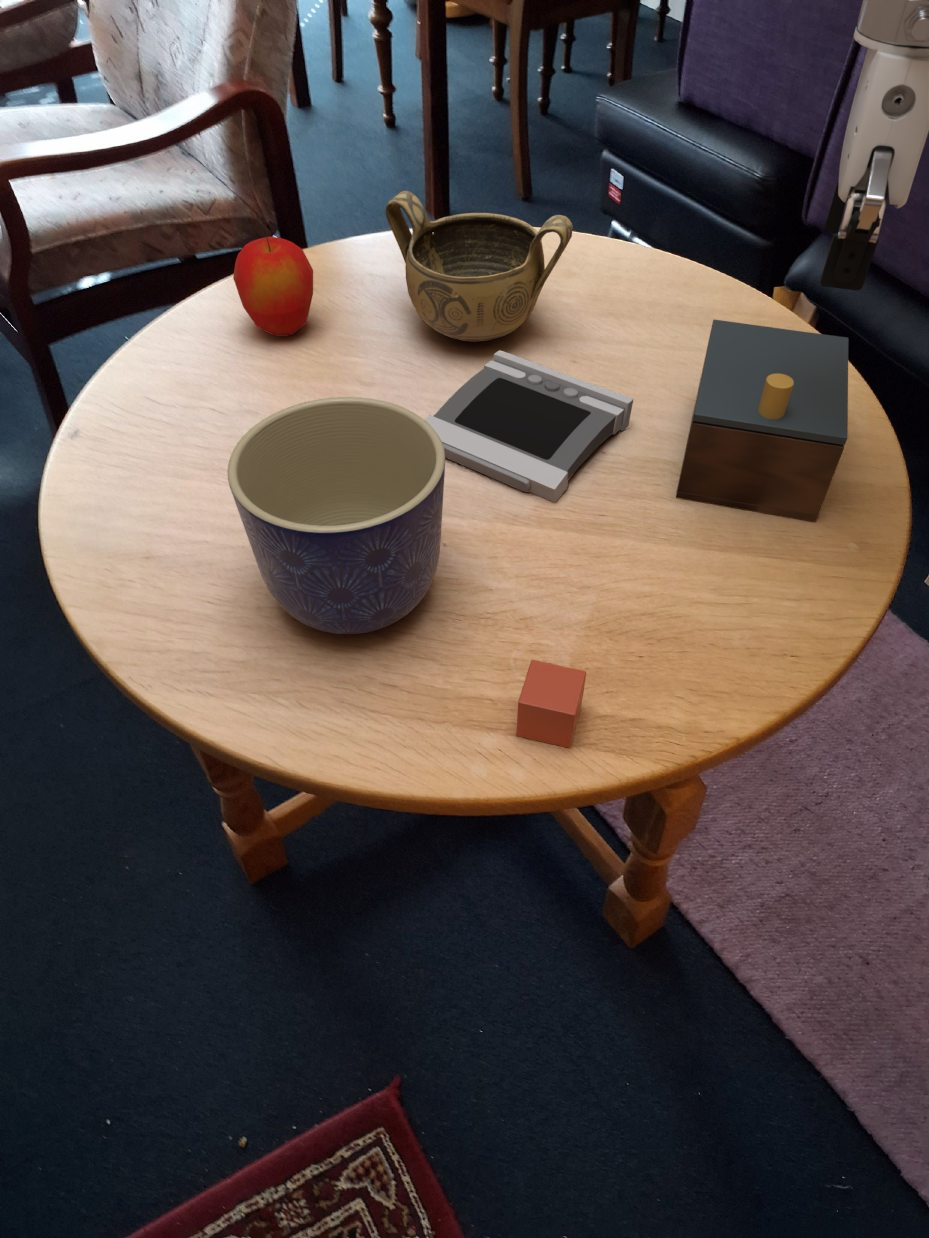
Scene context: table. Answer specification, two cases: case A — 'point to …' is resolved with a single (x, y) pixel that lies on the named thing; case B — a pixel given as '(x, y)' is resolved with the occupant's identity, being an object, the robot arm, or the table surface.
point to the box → (757, 470)
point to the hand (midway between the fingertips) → (841, 259)
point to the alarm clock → (528, 424)
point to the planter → (342, 509)
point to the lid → (775, 382)
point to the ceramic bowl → (473, 267)
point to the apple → (274, 284)
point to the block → (550, 703)
